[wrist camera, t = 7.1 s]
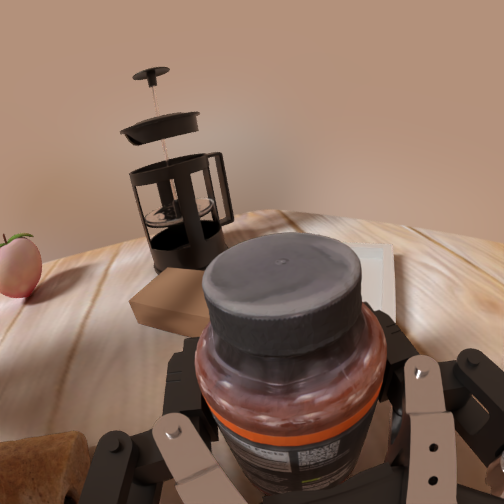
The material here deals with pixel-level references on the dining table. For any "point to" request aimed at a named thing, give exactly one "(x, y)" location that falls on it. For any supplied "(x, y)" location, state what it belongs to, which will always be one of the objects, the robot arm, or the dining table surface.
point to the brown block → (173, 302)
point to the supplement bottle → (290, 359)
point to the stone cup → (44, 469)
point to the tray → (377, 275)
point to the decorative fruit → (19, 266)
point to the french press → (179, 192)
